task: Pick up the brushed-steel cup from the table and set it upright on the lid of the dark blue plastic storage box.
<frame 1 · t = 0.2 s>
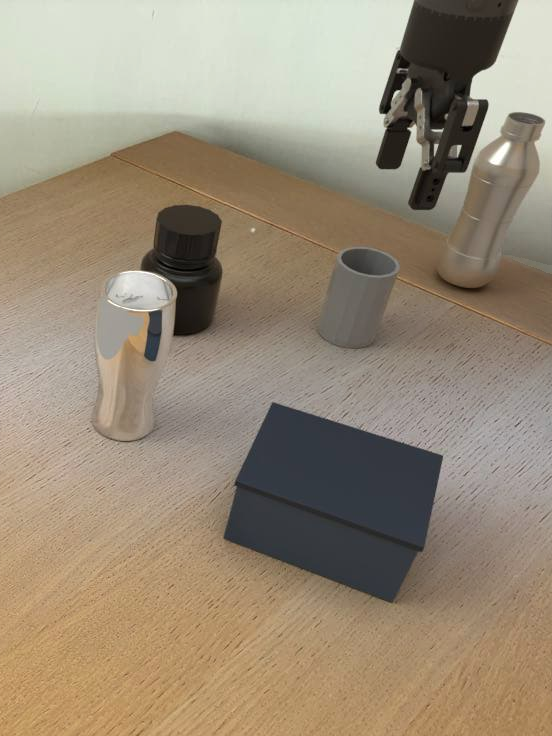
hand: (402, 187, 77), 19 cm above the table, tool pointing down, fingers open, 8 cm apart
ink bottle: (173, 315, 95), on the table
beer glass: (122, 422, 81), on the table
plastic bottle: (459, 281, 101), on the table
storage box: (319, 526, 71), on the table
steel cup: (345, 332, 92), on the table
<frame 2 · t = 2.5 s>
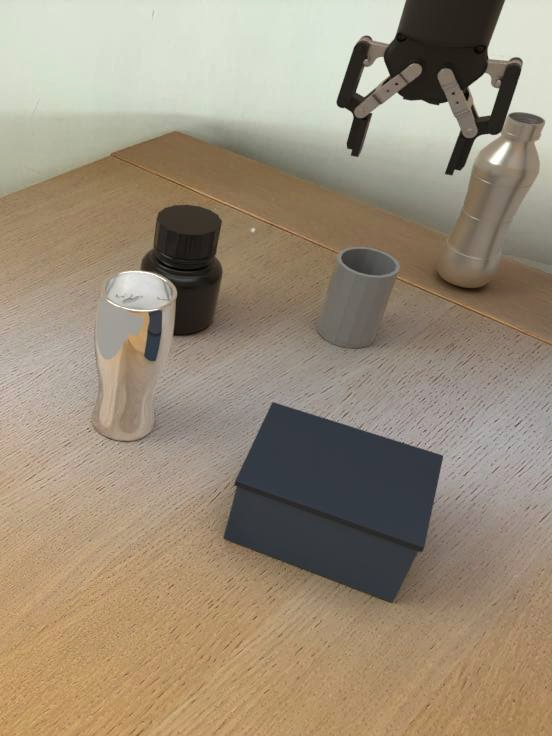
hand: (401, 162, 79), 20 cm above the table, tool pointing down, fingers open, 8 cm apart
nothing on the table moved.
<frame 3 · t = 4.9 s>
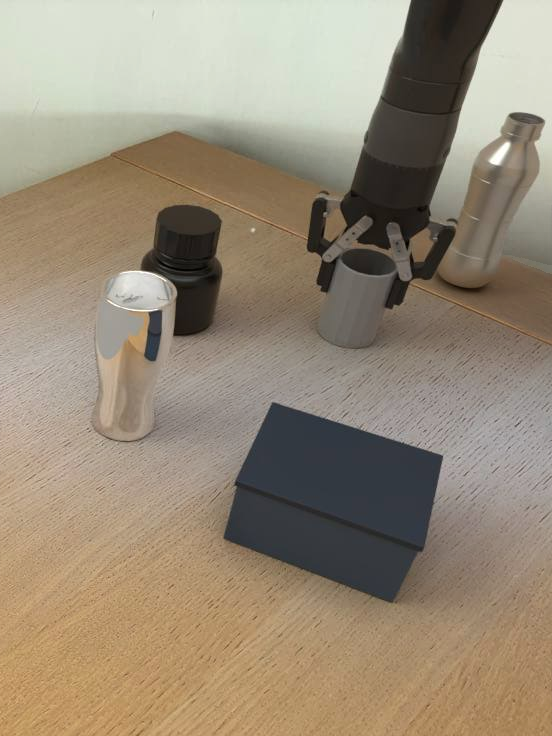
hand: (356, 296, 89), 5 cm above the table, tool pointing down, fingers closed on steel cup, 6 cm apart
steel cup: (345, 332, 92), on the table, touching gripper
everything else where it was.
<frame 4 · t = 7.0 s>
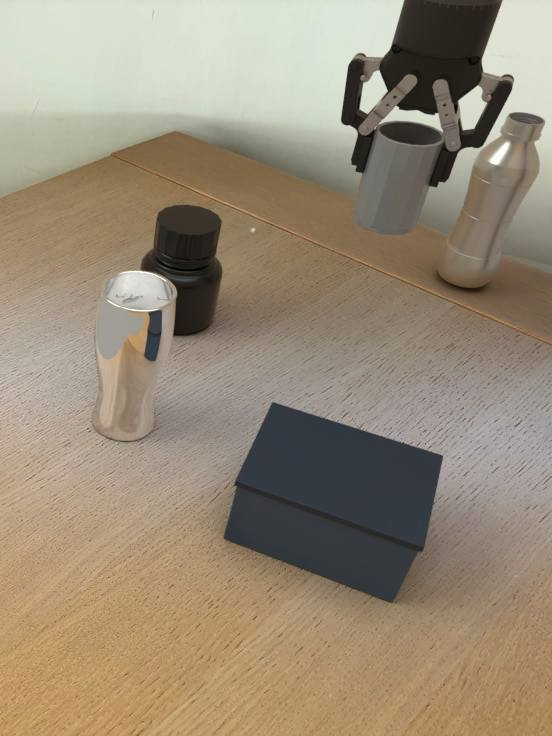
hand: (396, 176, 80), 19 cm above the table, tool pointing down, fingers closed on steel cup, 6 cm apart
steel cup: (382, 220, 83), point 14 cm above the table, touching gripper
everything else where it was.
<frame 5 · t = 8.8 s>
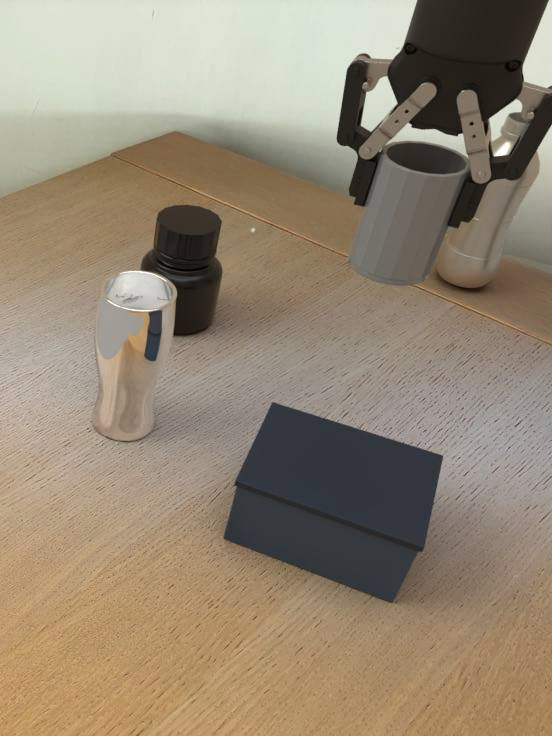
hand: (406, 211, 63), 24 cm above the table, tool pointing down, fingers closed on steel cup, 6 cm apart
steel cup: (387, 265, 66), point 19 cm above the table, touching gripper
everything else where it was.
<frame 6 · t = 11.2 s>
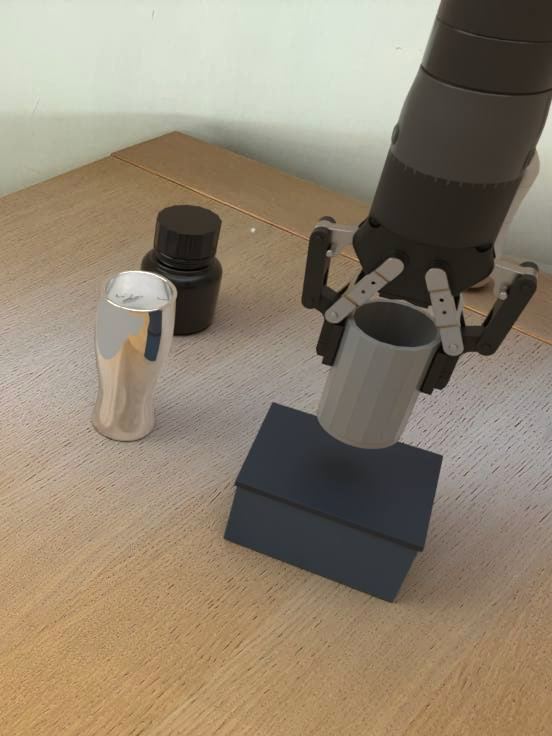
hand: (376, 372, 60), 17 cm above the table, tool pointing down, fingers closed on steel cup, 6 cm apart
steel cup: (359, 421, 63), point 12 cm above the table, touching gripper
everything else where it was.
when the fingers open (12 cm above the table, at t = 13.0 s): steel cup stays where it is, resting on storage box.
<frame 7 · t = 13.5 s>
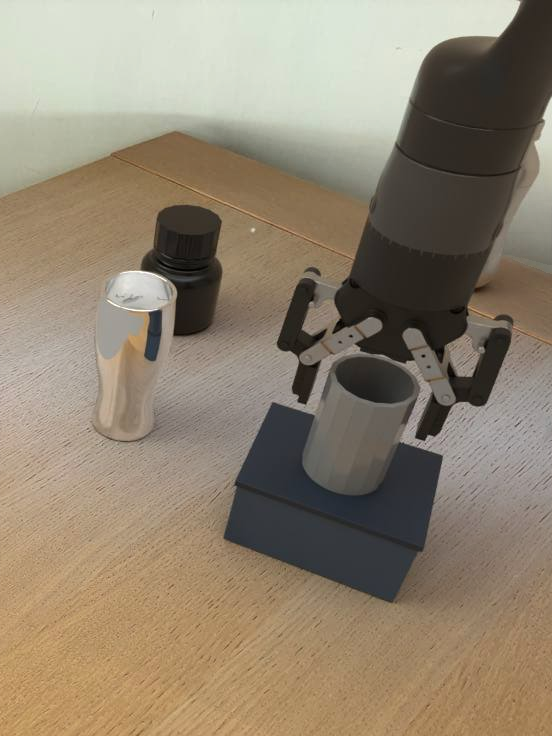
hand: (360, 415, 62), 13 cm above the table, tool pointing down, fingers open, 8 cm apart
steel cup: (341, 467, 66), point 7 cm above the table, touching storage box
everything else where it was.
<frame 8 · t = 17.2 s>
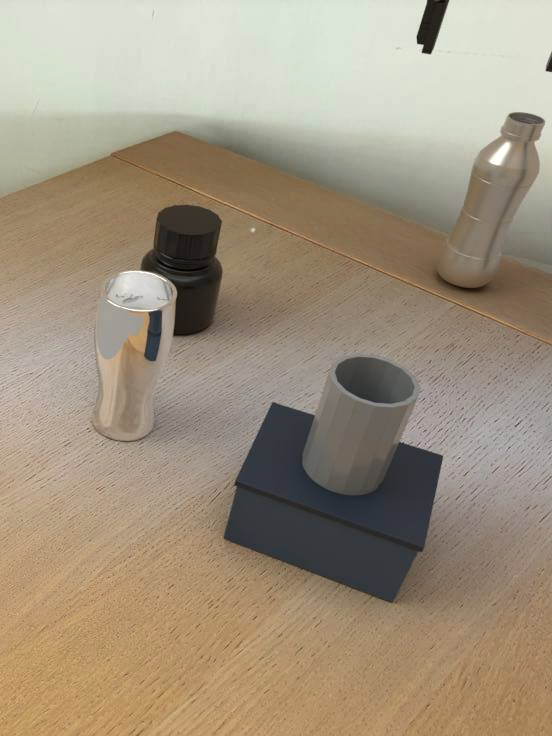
hand: (487, 60, 62), 33 cm above the table, tool pointing down, fingers open, 8 cm apart
nothing on the table moved.
at the end: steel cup inside the target area on the storage box (0.0 cm from its centre), point 7.0 cm above the storage box's base; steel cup tilted 0°; the gripper is holding nothing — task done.
